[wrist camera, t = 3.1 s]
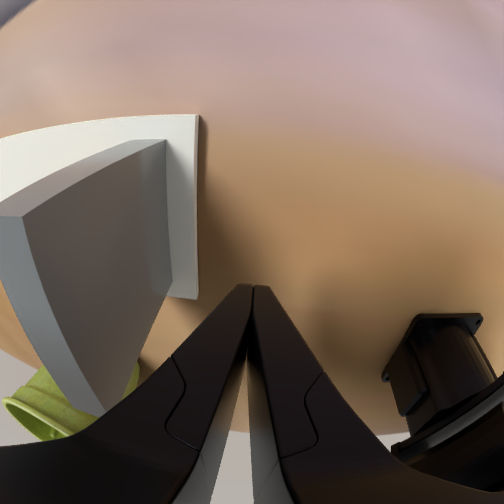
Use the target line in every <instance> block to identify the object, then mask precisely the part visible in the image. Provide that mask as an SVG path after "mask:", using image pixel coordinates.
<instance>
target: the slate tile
mask: <svg viewBox="0 0 504 504" xmlns="http://www.w3.org/2000/svg"><path fill="white" fill-rule="evenodd" d="M0 279H1V282H2V284H3V286H4V289H5V291H6V294H7V296H8V298H9V300H10V303H11V305H12V307H13V309H14V311H15V313H16V316H17V318H18V320H19V322H20V324H21V326H22V327H23V329H24V331H25V333H26V335H27V337H28V339H29V341H30V342H31V344H32V346H33V348H34V349H35V351H36V353H37V355H38V356H39V358H40V360H41V361H42V363H43V364H44V366H45V368H46V369H47V371H48V372H49V374H50V375H51V377H52V378H53V380H54V381H55V383H56V384H57V386H58V387H59V389H60V390H61V391H62V393H63V394H64V396H65V397H66V398H67V400H68V401H69V402H70V404H71V405H72V406H73V408H75V409H78V410H80V411H83V412H86V413H88V414H91V415H94V416H97V417H101V416H102V415H103V414H105V413H106V412H107V411H109V410H110V409H111V408H113V407H114V406H115V405H116V404H118V403H119V402H120V401H121V399H122V397H123V394H124V392H125V389H126V387H127V384H128V382H129V379H130V377H131V374H132V372H133V369H134V367H135V365H136V362H137V360H138V357H139V355H140V353H141V350H142V348H143V346H144V343H145V341H146V339H147V337H148V334H149V332H150V330H151V327H152V325H153V323H154V321H155V319H156V316H157V314H158V312H159V310H160V308H161V305H162V303H163V301H164V299H165V297H166V295H167V293H168V290H169V288H170V286H171V284H172V282H173V280H172V269H171V257H170V244H169V229H168V210H167V182H166V139H142V140H130V141H127V142H124V143H122V144H119V145H116V146H114V147H111V148H108V149H106V150H103V151H101V152H98V153H96V154H94V155H91V156H89V157H87V158H84V159H82V160H80V161H77V162H75V163H73V164H71V165H69V166H66V167H64V168H62V169H60V170H58V171H56V172H54V173H52V174H50V175H48V176H46V177H44V178H42V179H40V180H38V181H36V182H34V183H32V184H31V185H29V186H27V187H25V188H23V189H22V190H20V191H18V192H16V193H14V194H13V195H11V196H9V197H8V198H6V199H4V200H3V201H1V202H0Z"/></svg>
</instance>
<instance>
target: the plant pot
mask: <svg viewBox="0 0 504 504" xmlns="http://www.w3.org/2000/svg"><path fill="white" fill-rule="evenodd" d="M139 371H140V367H139V364H138V362H136V365H135V367H134V369H133V372H132V374H131V377H130V379H129V382H128V384H127V387H126V389H125V392H124V394H123V397H122V399H121V400H123V399H124V398H125V397H127V396H128V395H129V394H130V393H131V392H133V391H134V390H135V389H136V387H137V383H138V378H139ZM2 403H3V405H4V407H5V408H6V410H7V411H8V412H9V413H10V414H11V416H12V417H13V418H14V419H15V420H16V421H17V422H18V423H19V424H20V425H22V426H23V427H24V428H25V429H27V431H29V432H30V433H31V434H32V435H34V436H35V437H36V438H38V439H39V440H40V441H47V440H53V439H59V438H63V437H67V436H70V435H73V434H75V433H77V432H79V431H81V430H83V429H84V428H86V427H87V426H89V425H90V424H92V423H93V422H94V421H96V420H97V419H98V418H100V417H97V416H94V415H91V414H88V413H86V412H83V411H80V410H78V409H75V408H73V406H72V405H71V404H70V402H69V401H68V400H67V398H66V397H65V396H64V394H63V393H62V391H61V390H60V389H59V387H58V386H57V384H56V383H55V381H54V380H53V378H52V377H51V375H50V374H49V372H48V371H47V369H46V368H45V366H44V365H43V366H42V367H41V368H40V369H39V370H38V371H37V373H36V374H35V375H34V376H33V377H32V378H31V379H30V380H29V382H28V383H27V384H26V385H25V386H22V387H20V388H19V389H18V390H17V391H16V392H15V393H14V395H13V396H12V397H5V398H4V399H3V400H2Z"/></svg>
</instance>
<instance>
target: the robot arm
mask: <svg viewBox="0 0 504 504" xmlns="http://www.w3.org/2000/svg"><path fill="white" fill-rule="evenodd" d="M482 322H483V317H482V315H481V314H480V313H460V314H419V315H417V316H416V317H415V318H414V319H413V321H412V322H411V324H410V326H409V328H408V330H407V332H406V334H405V336H404V337H403V339H402V341H401V343H400V345H399V346H398V348H397V350H396V352H395V353H394V355H393V357H392V358H391V360H390V362H389V363H388V365H387V367H386V368H385V370H384V371H383V373H382V375H381V378H382V381H383V382H390V383H391V386H392V390H393V393H394V397H395V400H396V404H397V408H398V411H399V414H400V415H401V416H402V417H404V416H405V417H406V420H407V424H408V428H409V432H410V436H411V437H410V438H408V439H406V440H404V441H402V442H398V443H396V444H394V445H392V446H391V452H389V450H388V449H387V448H386V447H385V446H384V445H383V444H382V443H381V442H380V441H379V439H378V438H377V437H376V436H375V435H374V434H373V433H372V431H371V430H370V429H369V428H368V427H367V426H366V425H365V423H364V422H363V421H362V420H361V419H360V418H359V417H358V415H357V414H356V413H355V412H354V411H353V409H352V408H351V407H350V406H349V405H348V403H347V402H346V401H345V400H344V398H343V397H342V396H341V394H340V393H339V391H338V390H337V389H336V387H335V386H334V384H333V383H332V381H331V380H330V378H329V377H328V375H327V374H326V372H323V371H324V370H323V368H322V366H321V365H320V363H319V362H318V360H317V359H316V357H315V356H314V354H313V353H312V351H311V350H310V348H309V347H308V345H307V343H306V342H305V340H304V339H303V337H302V336H301V334H300V333H299V331H298V330H297V328H296V327H295V325H294V324H293V322H292V321H291V319H290V318H289V316H288V314H287V313H286V311H285V310H284V308H283V307H282V305H281V304H280V302H279V301H278V299H277V298H276V296H275V295H274V293H273V292H272V290H271V288H270V287H269V286H263V285H255V286H254V288H253V285H251V284H243V283H239V284H237V285H236V287H235V288H234V289H233V290H232V291H231V292H230V293H229V294H228V295H227V296H226V297H225V298H224V299H223V300H222V302H221V303H220V304H219V305H218V306H217V307H216V308H215V309H214V310H213V311H212V312H211V313H210V314H209V315H208V316H207V318H206V319H205V320H204V321H203V322H202V323H201V324H200V325H199V326H198V327H197V328H196V329H195V330H194V331H193V332H192V334H191V335H190V336H189V337H188V338H187V339H186V340H185V341H184V342H183V343H182V344H181V345H180V346H179V347H178V348H177V349H176V350H175V351H174V353H173V354H172V355H171V357H169V358H168V359H167V360H166V361H165V362H164V363H163V364H162V365H161V366H160V367H159V368H158V369H157V370H156V371H155V372H154V373H153V374H152V375H151V376H150V377H149V378H148V379H147V380H146V381H145V382H143V383H142V384H141V385H140V386H139V387H137V388H136V389H135V390H134V391H133V392H131V393H130V394H129V395H128V396H127V397H125V398H124V399H123V400H121V401H120V402H119V403H118V404H116V405H115V406H114V407H113V408H111V409H110V410H109V411H107V412H106V413H105V414H103V415H102V416H101V417H100V418H98V419H97V420H96V421H94V422H93V423H92V424H90V425H89V426H87V427H86V428H84V429H83V430H81V431H79V432H77V433H75V434H73V435H70V436H67V437H63V438H59V439H53V440H47V441H41V442H35V443H28V444H20V445H11V446H0V504H210V501H211V496H212V493H213V490H214V486H215V482H216V479H217V475H218V471H219V467H220V463H221V459H222V456H223V452H224V448H225V444H226V440H227V437H228V432H229V429H230V425H231V421H232V417H233V413H234V409H235V405H236V401H237V397H238V393H239V389H240V385H241V380H242V376H243V372H244V368H245V363H246V357H247V385H248V406H249V426H250V445H251V463H252V481H253V496H254V504H504V371H503V374H502V375H501V376H500V377H499V378H497V376H496V374H495V372H494V370H493V368H492V366H491V364H490V362H489V360H488V359H487V357H486V355H485V353H484V351H483V350H482V348H481V346H480V344H479V343H478V341H477V339H476V338H475V336H474V335H475V333H476V331H477V330H478V328H479V327H480V325H481V323H482ZM247 348H248V349H247Z"/></svg>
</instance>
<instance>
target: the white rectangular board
mask: <svg viewBox="0 0 504 504" xmlns="http://www.w3.org/2000/svg"><path fill="white" fill-rule="evenodd" d="M198 124H199V114H174V115H146V116H131V117H118V118H108V119H99V120H91V121H83V122H76V123H70V124H64V125H58V126H52V127H47V128H42V129H37V130H32V131H28V132H24V133H19V134H15V135H11V136H7V137H4V138H0V202H1V201H3V200H4V199H6V198H8V197H9V196H11V195H13V194H14V193H16V192H18V191H20V190H22V189H23V188H25V187H27V186H29V185H31V184H32V183H34V182H36V181H38V180H40V179H42V178H44V177H46V176H48V175H50V174H52V173H54V172H56V171H58V170H60V169H62V168H64V167H66V166H69V165H71V164H73V163H75V162H77V161H80V160H82V159H84V158H87V157H89V156H91V155H94V154H96V153H98V152H101V151H103V150H106V149H108V148H111V147H114V146H116V145H119V144H122V143H124V142H127V141H130V140H142V139H166V182H167V210H168V229H169V244H170V257H171V269H172V280H173V282H172V284H171V286H170V288H169V290H168V293H167V295H166V296H170V297H177V298H185V299H193V300H196V299H197V296H198V294H199V287H198V257H197V153H198Z"/></svg>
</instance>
